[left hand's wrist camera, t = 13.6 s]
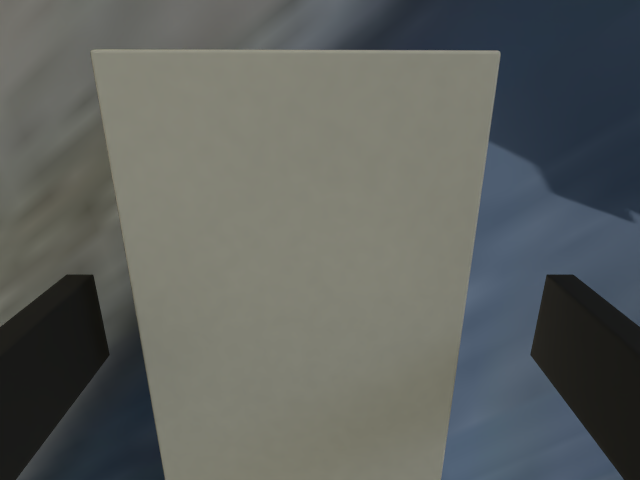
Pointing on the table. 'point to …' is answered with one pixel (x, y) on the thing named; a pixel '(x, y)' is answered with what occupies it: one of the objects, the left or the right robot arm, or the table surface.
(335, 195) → the thick board
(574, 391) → the left robot arm
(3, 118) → the table surface
